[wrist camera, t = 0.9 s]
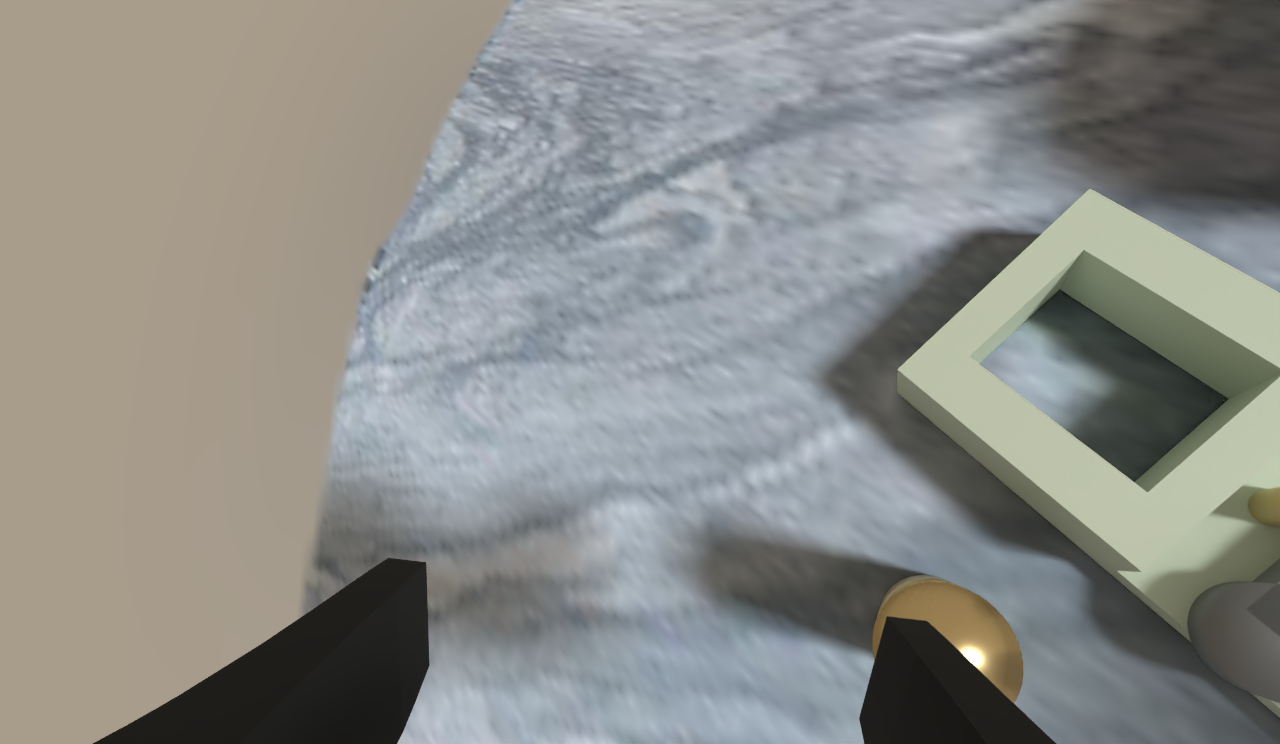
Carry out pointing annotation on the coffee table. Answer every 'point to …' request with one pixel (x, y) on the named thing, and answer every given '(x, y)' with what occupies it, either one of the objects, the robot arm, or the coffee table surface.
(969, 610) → the brass pin
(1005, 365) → the coffee table surface
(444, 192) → the coffee table surface
